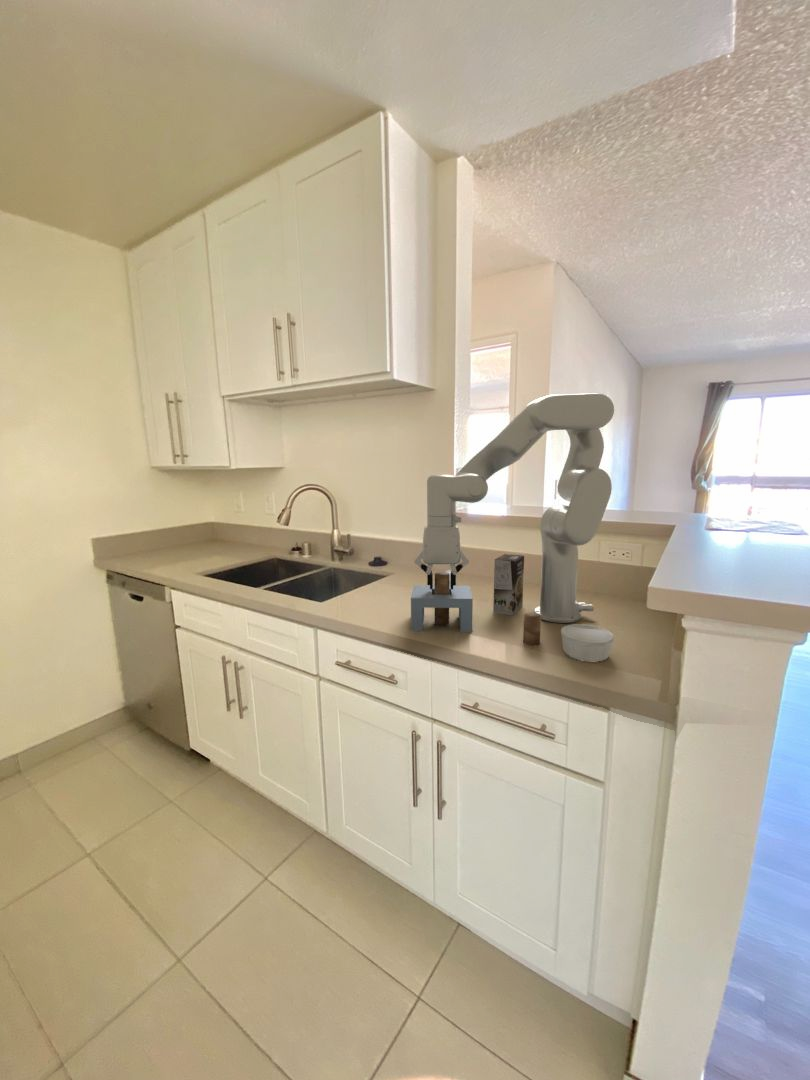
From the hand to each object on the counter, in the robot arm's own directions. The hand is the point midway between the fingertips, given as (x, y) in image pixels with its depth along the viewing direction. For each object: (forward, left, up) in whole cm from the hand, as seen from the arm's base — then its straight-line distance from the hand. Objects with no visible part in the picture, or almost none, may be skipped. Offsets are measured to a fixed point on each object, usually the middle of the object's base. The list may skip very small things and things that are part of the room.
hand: (441, 587), depth 118 cm
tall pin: (0, 0, -10) cm, 10 cm away
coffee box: (-20, -12, -11) cm, 26 cm away
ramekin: (-33, +18, -11) cm, 39 cm away
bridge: (0, 0, -10) cm, 10 cm away
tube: (-1, -29, -11) cm, 31 cm away
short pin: (-22, +12, -10) cm, 27 cm away
